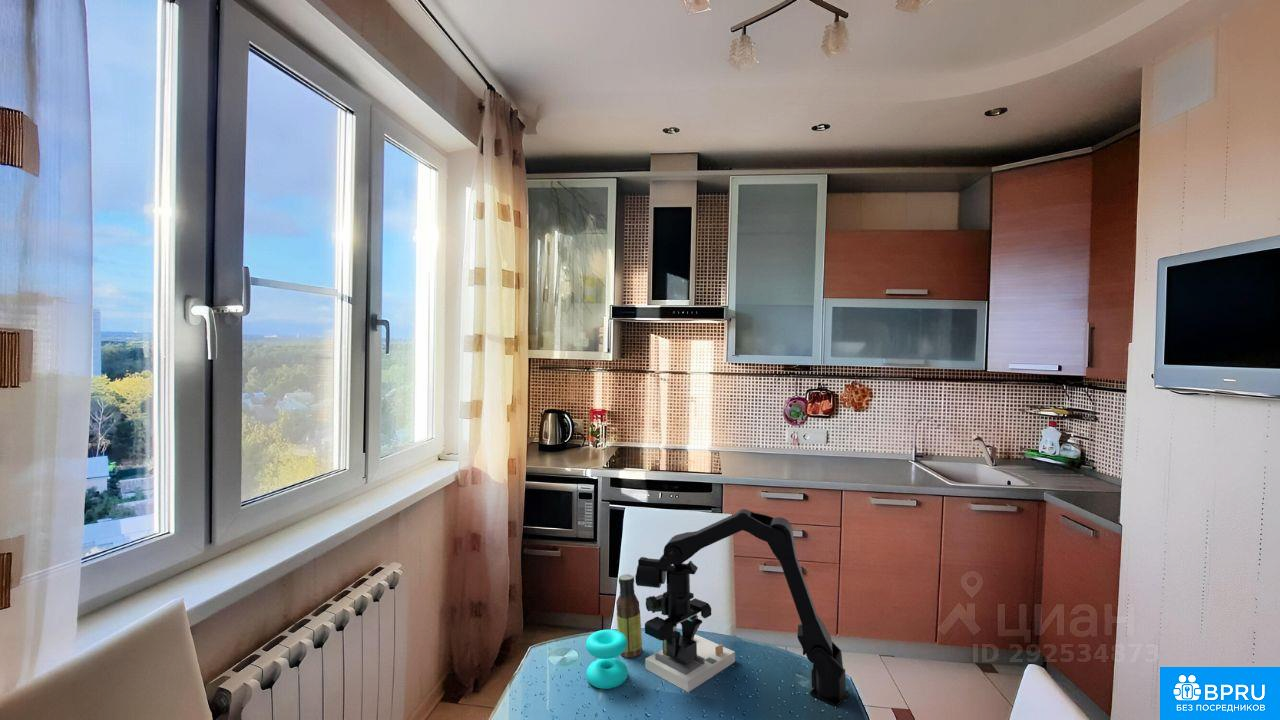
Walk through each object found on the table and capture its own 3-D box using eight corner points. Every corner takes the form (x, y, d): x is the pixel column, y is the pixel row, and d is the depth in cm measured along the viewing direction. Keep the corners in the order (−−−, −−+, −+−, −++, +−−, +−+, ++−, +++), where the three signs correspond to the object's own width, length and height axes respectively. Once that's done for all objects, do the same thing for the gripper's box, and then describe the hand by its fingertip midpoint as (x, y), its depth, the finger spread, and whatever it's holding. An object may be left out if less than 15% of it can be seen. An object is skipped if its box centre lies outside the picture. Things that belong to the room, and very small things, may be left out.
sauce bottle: (643, 647, 144) (641, 572, 144) (640, 659, 137) (639, 581, 138) (619, 646, 144) (617, 571, 145) (615, 658, 138) (614, 580, 138)
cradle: (735, 661, 135) (734, 643, 135) (688, 692, 123) (687, 672, 123) (692, 642, 145) (692, 625, 145) (645, 668, 133) (645, 650, 133)
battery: (696, 658, 130) (696, 641, 130) (685, 665, 127) (685, 648, 127) (672, 647, 136) (672, 630, 136) (661, 653, 133) (661, 636, 133)
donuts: (634, 632, 131) (613, 651, 122) (635, 673, 131) (614, 695, 122) (599, 624, 136) (577, 642, 127) (600, 664, 136) (578, 684, 127)
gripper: (679, 570, 144) (680, 629, 144) (628, 591, 131) (629, 655, 131) (711, 581, 136) (713, 643, 136) (661, 605, 123) (662, 673, 123)
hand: (679, 653), depth 131 cm, fingers open, 4 cm apart
